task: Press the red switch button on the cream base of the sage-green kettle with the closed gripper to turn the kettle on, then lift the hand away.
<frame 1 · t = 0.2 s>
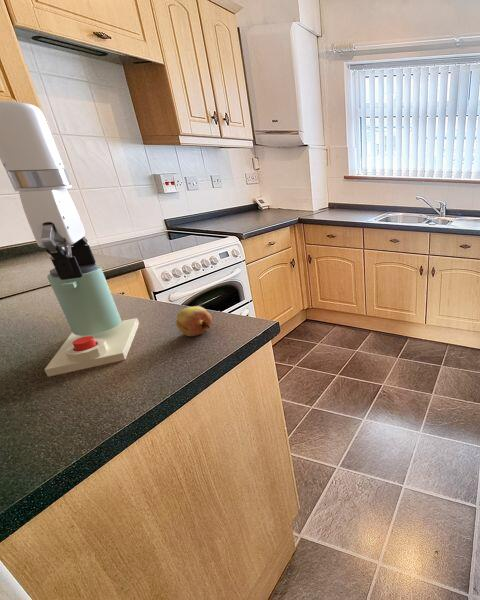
hand: (79, 271, 67), 17 cm above the table, tool pointing down, fingers open, 9 cm apart
kettle: (98, 326, 75), resting on kettle base
switch: (84, 343, 67), point 4 cm above the table, slide at 0.1 cm
fruit: (198, 333, 79), on the table
kettle base: (99, 347, 74), on the table
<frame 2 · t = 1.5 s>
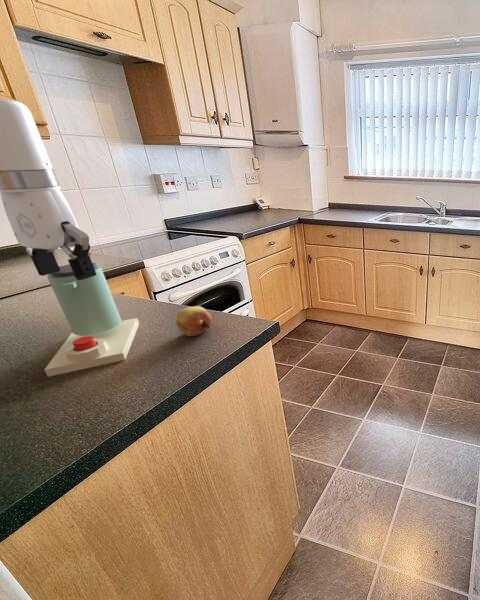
hand: (68, 275, 65), 17 cm above the table, tool pointing down, fingers open, 9 cm apart
nothing on the table moved.
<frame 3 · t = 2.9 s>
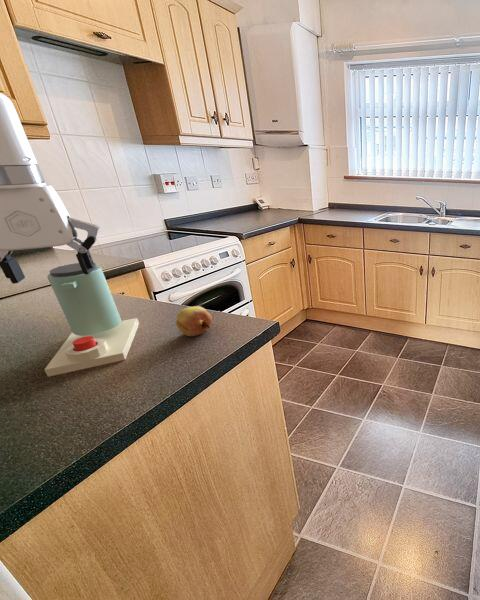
hand: (55, 276, 62), 18 cm above the table, tool pointing down, fingers open, 9 cm apart
nothing on the table moved.
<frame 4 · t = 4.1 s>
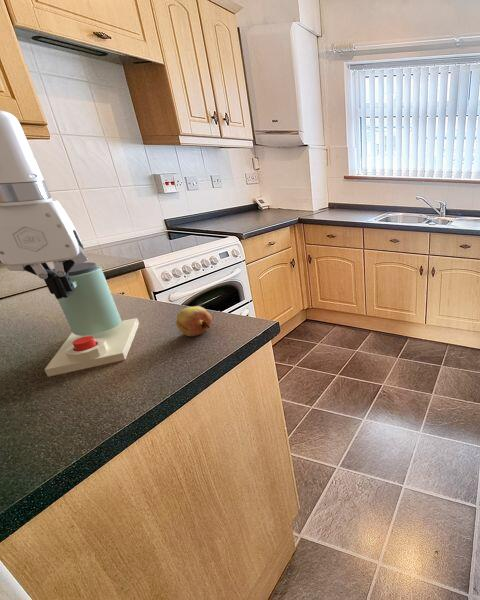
hand: (65, 295, 63), 14 cm above the table, tool pointing down, fingers closed
nothing on the table moved.
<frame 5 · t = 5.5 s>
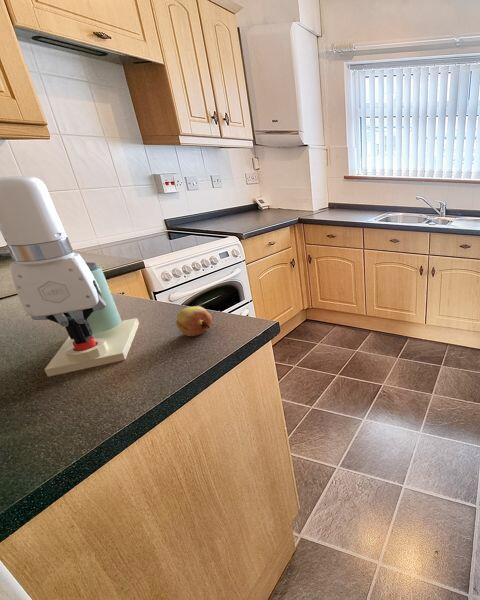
hand: (83, 340, 67), 5 cm above the table, tool pointing down, fingers closed
switch: (84, 343, 67), point 4 cm above the table, slide at 0.1 cm, touching gripper
everything else where it was.
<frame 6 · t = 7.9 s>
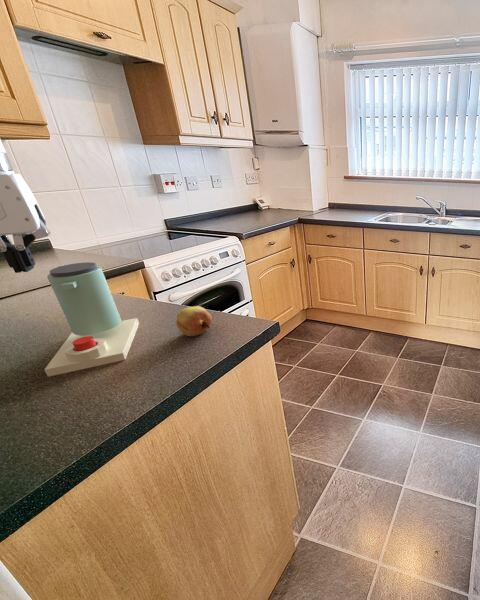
hand: (25, 270, 63), 19 cm above the table, tool pointing down, fingers closed
switch: (84, 343, 67), point 4 cm above the table, slide at 0.1 cm
everything else where it was.
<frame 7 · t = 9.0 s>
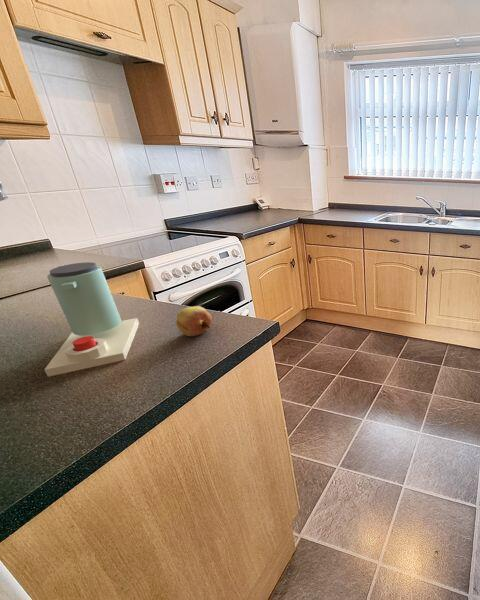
nothing on the table moved.
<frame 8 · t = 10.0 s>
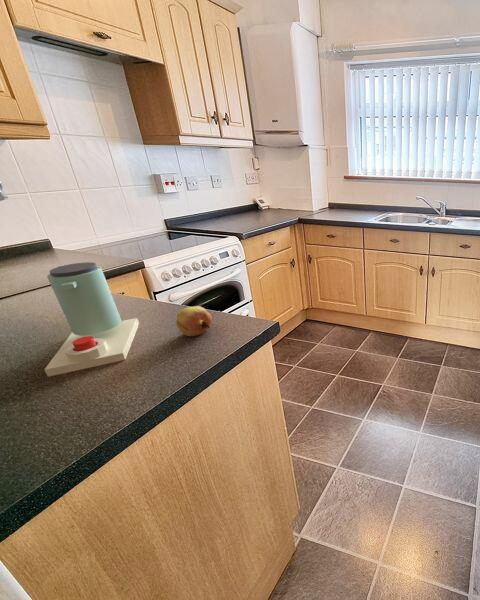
nothing on the table moved.
at the end: switch pushed in 1.1 cm at the most during the clip, back to where it started at the end; switch slide at 0.1 cm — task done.
